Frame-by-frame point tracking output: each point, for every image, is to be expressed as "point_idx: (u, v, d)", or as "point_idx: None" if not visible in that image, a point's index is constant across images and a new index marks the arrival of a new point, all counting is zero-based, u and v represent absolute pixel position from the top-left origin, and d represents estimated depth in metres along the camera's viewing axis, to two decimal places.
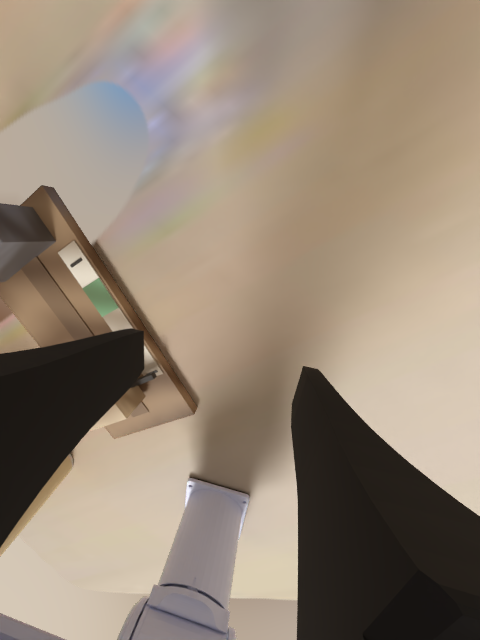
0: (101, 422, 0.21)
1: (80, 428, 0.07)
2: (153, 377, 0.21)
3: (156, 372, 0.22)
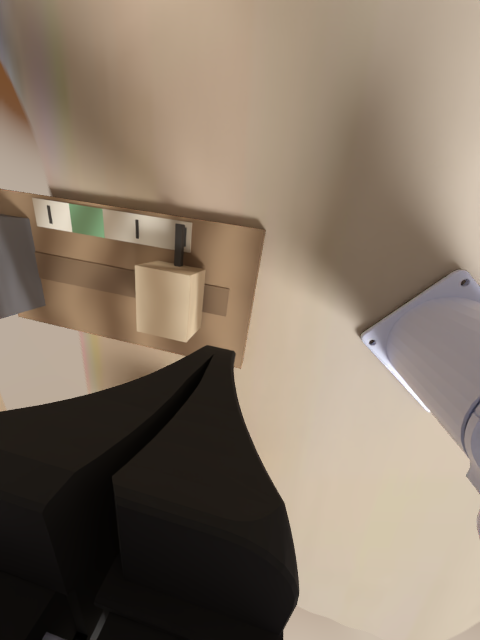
0: (181, 315, 0.16)
1: None
2: (180, 224, 0.16)
3: (186, 230, 0.17)
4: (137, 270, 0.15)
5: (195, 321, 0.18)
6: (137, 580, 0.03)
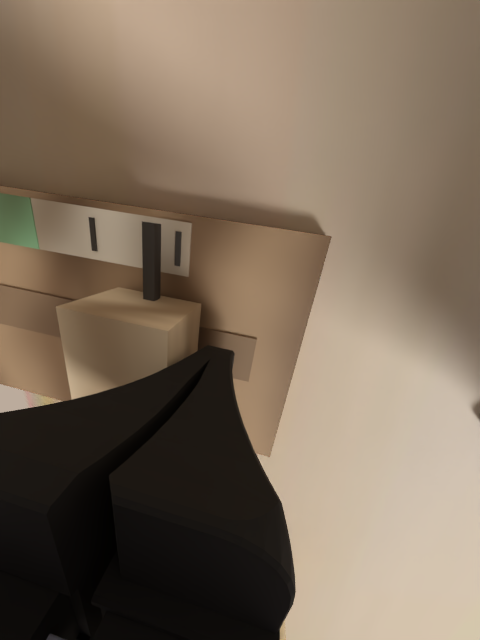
0: None
1: None
2: (151, 223, 0.08)
3: (181, 236, 0.09)
4: (62, 316, 0.08)
5: None
6: (134, 579, 0.03)
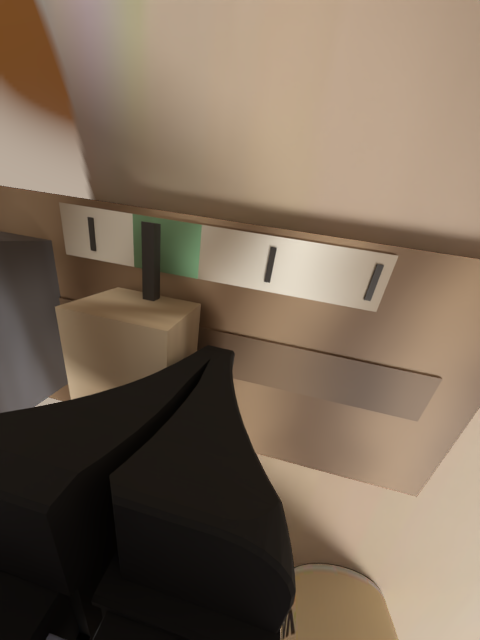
0: None
1: None
2: (151, 223, 0.08)
3: (381, 269, 0.08)
4: (61, 316, 0.08)
5: None
6: (134, 579, 0.03)
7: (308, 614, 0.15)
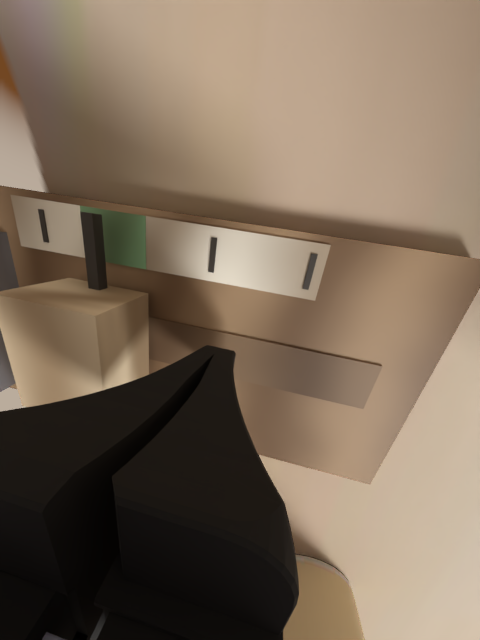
0: (90, 385, 0.08)
1: None
2: (89, 213, 0.08)
3: (316, 259, 0.09)
4: None
5: None
6: (137, 580, 0.03)
7: None
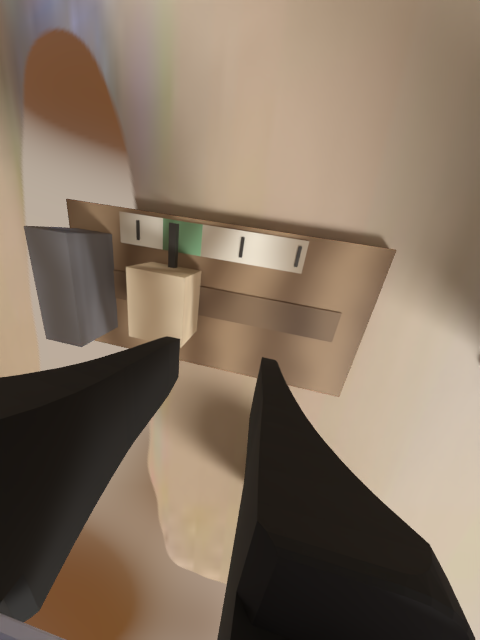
0: (175, 319, 0.15)
1: (127, 441, 0.07)
2: (174, 223, 0.15)
3: (301, 249, 0.15)
4: (128, 272, 0.14)
5: (190, 324, 0.17)
6: (270, 627, 0.03)
7: None
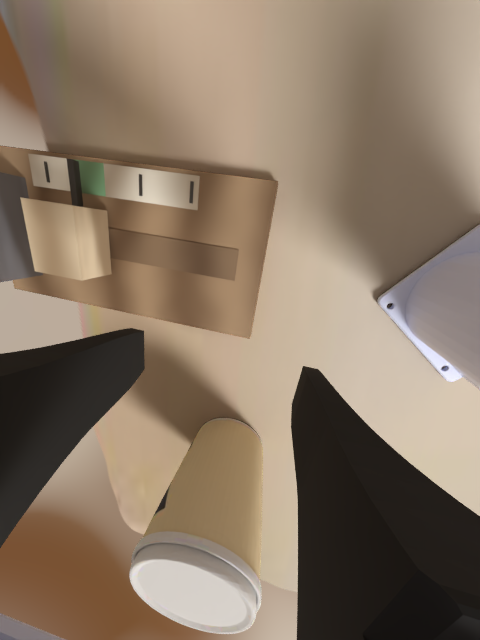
0: (72, 250, 0.16)
1: (80, 428, 0.07)
2: (71, 159, 0.16)
3: (193, 184, 0.16)
4: (23, 203, 0.15)
5: (96, 262, 0.18)
6: None
7: (200, 438, 0.23)
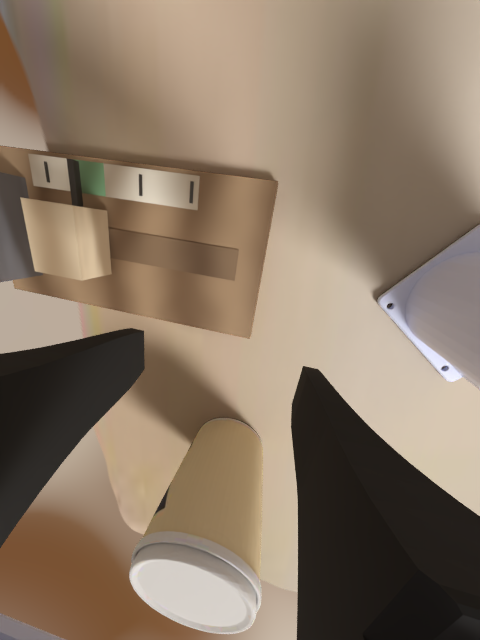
0: (72, 250, 0.16)
1: (80, 428, 0.07)
2: (71, 159, 0.16)
3: (193, 184, 0.16)
4: (23, 203, 0.15)
5: (96, 262, 0.18)
6: None
7: (200, 438, 0.23)
